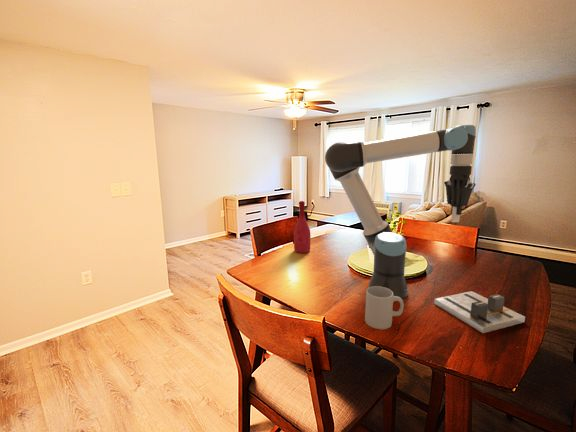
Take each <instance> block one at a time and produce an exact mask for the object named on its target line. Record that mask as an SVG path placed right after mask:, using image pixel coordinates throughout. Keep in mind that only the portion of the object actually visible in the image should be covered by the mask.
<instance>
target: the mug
mask: <svg viewBox="0 0 576 432" xmlns="http://www.w3.org/2000/svg"><path fill="white" fill-rule="evenodd" d="M394 302H399V309H398V310H396V311H395V310H393V308H394V307H393V305H394ZM404 307H405V306H404V299H401V298H400V297H398V296H393V292H392V291H391V290H390V289H388V288H385V287H381V286H372V287H369V288H366V291H365V313H364V321H365V324H366V325H367V326H369V327H370V328H373V329H376V330H387V329H389V328H391V327H392V323H393V317H398V316H399V317H400V316H401V315H402V313H403V312H404Z"/></svg>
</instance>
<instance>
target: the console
mask: <svg viewBox="0 0 576 432" xmlns="http://www.w3.org/2000/svg"><path fill="white" fill-rule="evenodd" d="M433 303H434V305H436V306H437V307H439V308H440V309H442V310H444V311H446V312H447V313H449V314H450V315H452V316H454V317H456V318H457V319H459V320H460V321H462V322H464V323H465V324H467V325H468V326H470V327H472V328H474V329H475V330H477V331H478V332H480V333H481V334H485V333H489V332H493V331H497V330H500V329H505V328H507V327H508V328H509V327H512V326H515V325H518V324H519V325H520V324H522V323H523V324H524V323H525V320H526V316H525V315H522V314H521V313H518V312H516V311H515V310H512V309H510V308H508V307H506V306H504V305H503V310H499V311H495V312H494V311H492V310H490V309H488V298H487V297H484V296H483V295H481V294H478V293H476V292H474V291H465V292H460V293H456V294H452V295H451V294H450V295H446V296H441V297H437V298H434V301H433Z"/></svg>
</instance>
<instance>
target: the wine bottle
mask: <svg viewBox="0 0 576 432" xmlns="http://www.w3.org/2000/svg"><path fill="white" fill-rule="evenodd" d="M305 204H306V203H305V201H303V200H301V201H299V202H298V209H299V215H298V219H297V222H296V223H295V226H294V229H293V249H294V252H296V253H298V254H306V253H309V252H310V251H311V229H310V226H309V223H308V220H307V219H306V216H305V209H306V208H305Z"/></svg>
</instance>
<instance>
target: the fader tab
mask: <svg viewBox="0 0 576 432" xmlns="http://www.w3.org/2000/svg"><path fill="white" fill-rule="evenodd" d="M487 299H488V309H490V310H492V311H494V312H495V311H499V310H503V306H504V305H505V297H504V296H502V295H500V294H492V295H488V298H487Z"/></svg>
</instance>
